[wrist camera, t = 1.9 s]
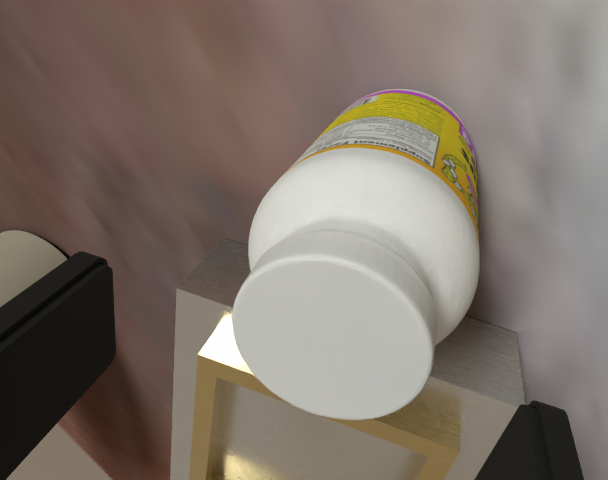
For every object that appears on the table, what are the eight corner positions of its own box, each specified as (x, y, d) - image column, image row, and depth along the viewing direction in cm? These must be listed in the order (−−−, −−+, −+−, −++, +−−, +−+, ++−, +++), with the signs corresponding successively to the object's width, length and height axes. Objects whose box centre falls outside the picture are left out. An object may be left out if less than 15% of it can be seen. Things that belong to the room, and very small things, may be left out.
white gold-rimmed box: (516, 332, 24) (529, 439, 18) (412, 520, 33) (400, 627, 28) (223, 238, 26) (159, 306, 21) (204, 437, 36) (157, 519, 30)
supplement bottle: (452, 241, 22) (433, 487, 12) (318, 208, 24) (191, 402, 13) (498, 100, 19) (533, 266, 8) (338, 70, 20) (190, 179, 10)
